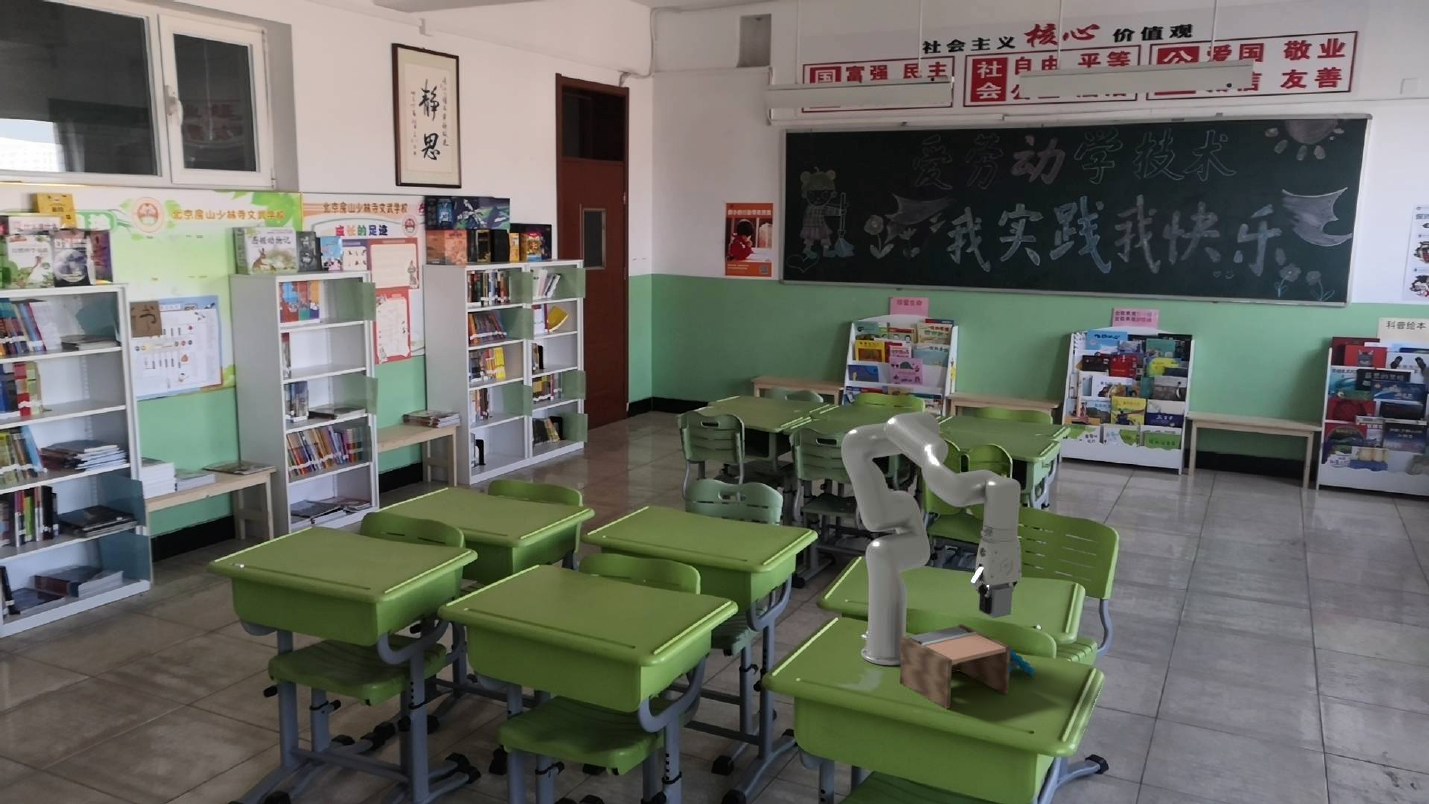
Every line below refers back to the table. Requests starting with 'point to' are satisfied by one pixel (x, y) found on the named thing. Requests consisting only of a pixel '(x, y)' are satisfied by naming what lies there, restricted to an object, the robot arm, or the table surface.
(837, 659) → the table surface
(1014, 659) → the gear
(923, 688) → the frame
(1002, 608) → the grey short rectangular block
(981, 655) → the trapdoor
